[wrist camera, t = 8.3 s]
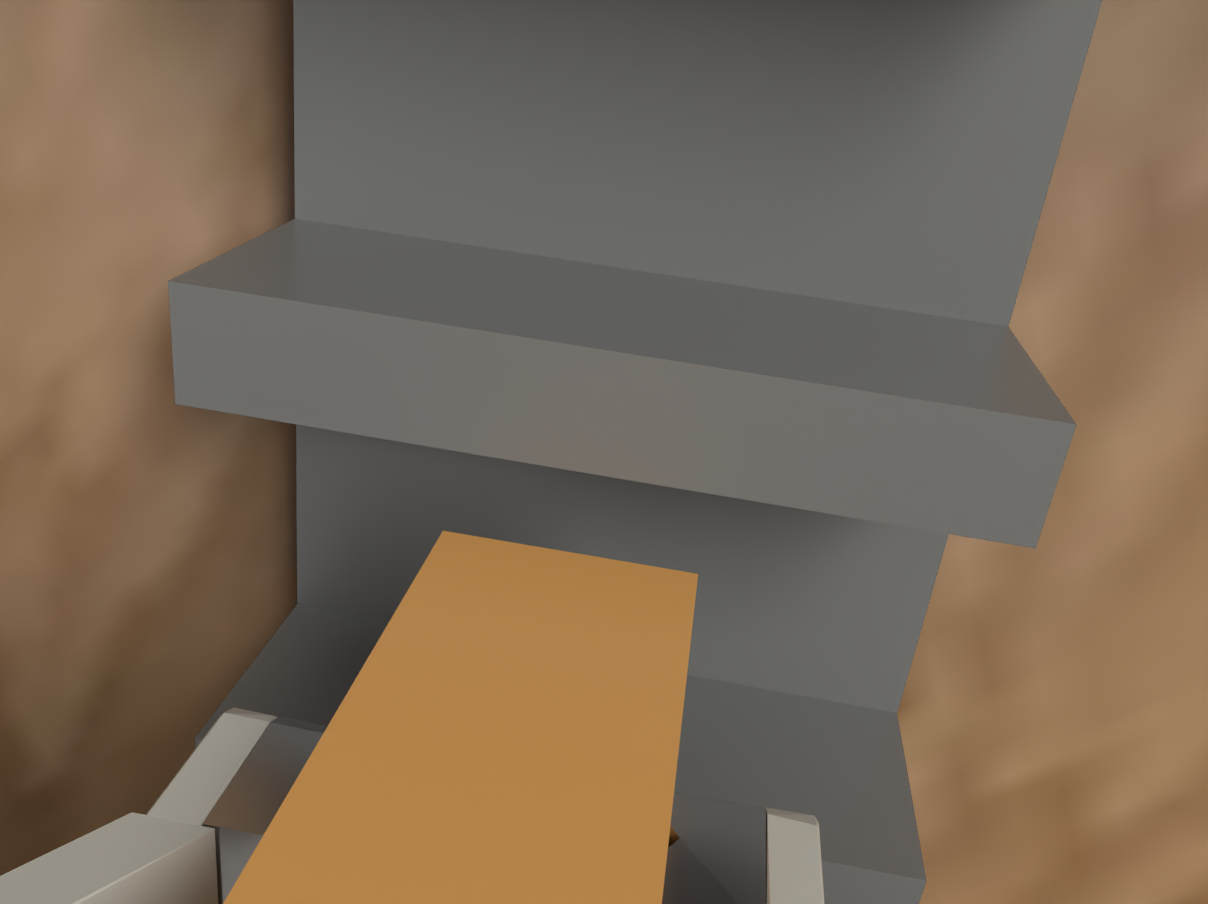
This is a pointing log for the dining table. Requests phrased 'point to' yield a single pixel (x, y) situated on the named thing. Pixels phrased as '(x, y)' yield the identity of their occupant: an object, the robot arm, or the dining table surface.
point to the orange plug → (497, 741)
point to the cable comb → (662, 343)
